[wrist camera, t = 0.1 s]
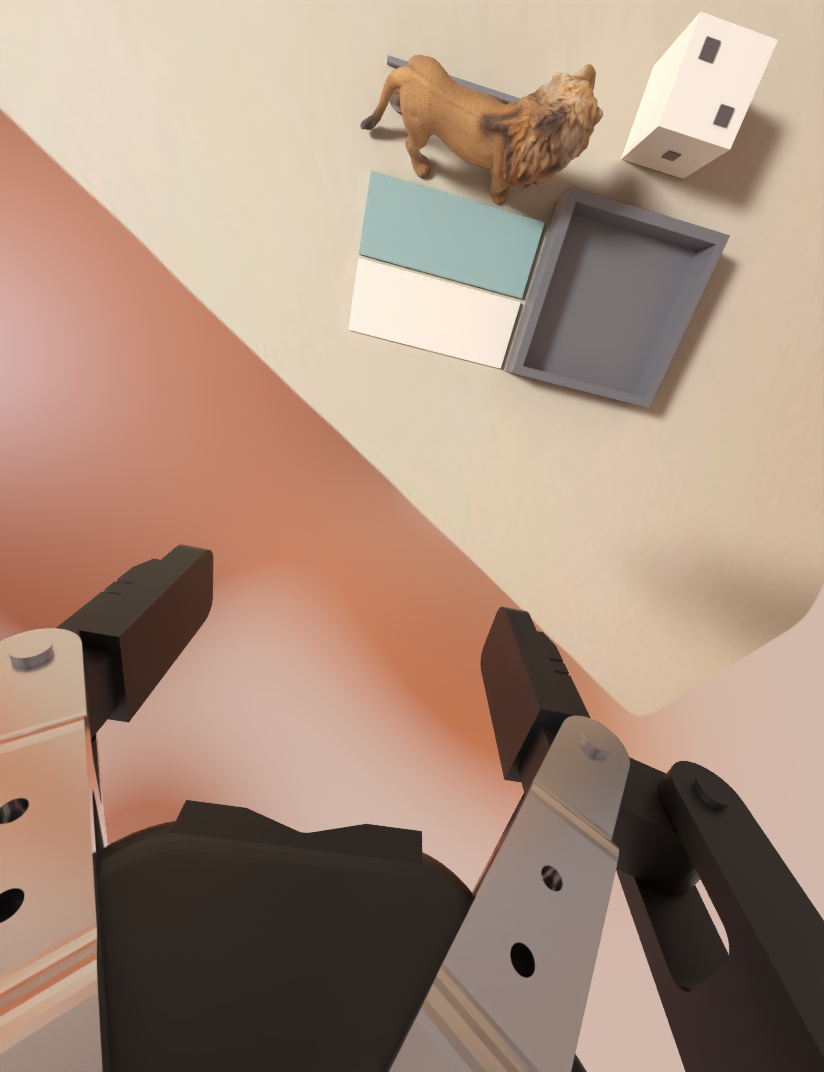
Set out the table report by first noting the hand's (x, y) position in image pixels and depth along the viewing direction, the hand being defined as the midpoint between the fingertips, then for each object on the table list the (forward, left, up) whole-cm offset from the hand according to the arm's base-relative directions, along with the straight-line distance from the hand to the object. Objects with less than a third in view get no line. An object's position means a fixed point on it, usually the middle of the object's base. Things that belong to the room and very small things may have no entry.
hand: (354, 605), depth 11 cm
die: (-25, +15, -29) cm, 41 cm away
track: (-15, +1, -29) cm, 33 cm away
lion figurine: (-20, +1, -30) cm, 36 cm away
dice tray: (-13, +15, -29) cm, 35 cm away
